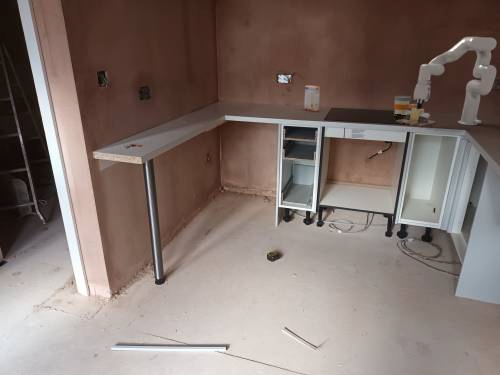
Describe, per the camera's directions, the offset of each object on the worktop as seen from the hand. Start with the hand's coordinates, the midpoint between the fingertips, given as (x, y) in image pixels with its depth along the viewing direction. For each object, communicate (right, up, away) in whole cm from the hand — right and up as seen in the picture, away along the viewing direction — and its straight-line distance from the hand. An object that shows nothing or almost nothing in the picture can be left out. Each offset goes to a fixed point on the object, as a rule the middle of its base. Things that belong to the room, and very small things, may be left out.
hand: (419, 108), depth 272 cm
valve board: (+4, -8, +14) cm, 16 cm away
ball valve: (+4, -6, +13) cm, 15 cm away
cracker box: (-67, +12, +65) cm, 94 cm away
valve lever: (0, +1, +7) cm, 7 cm away
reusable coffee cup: (+3, +4, +43) cm, 43 cm away
